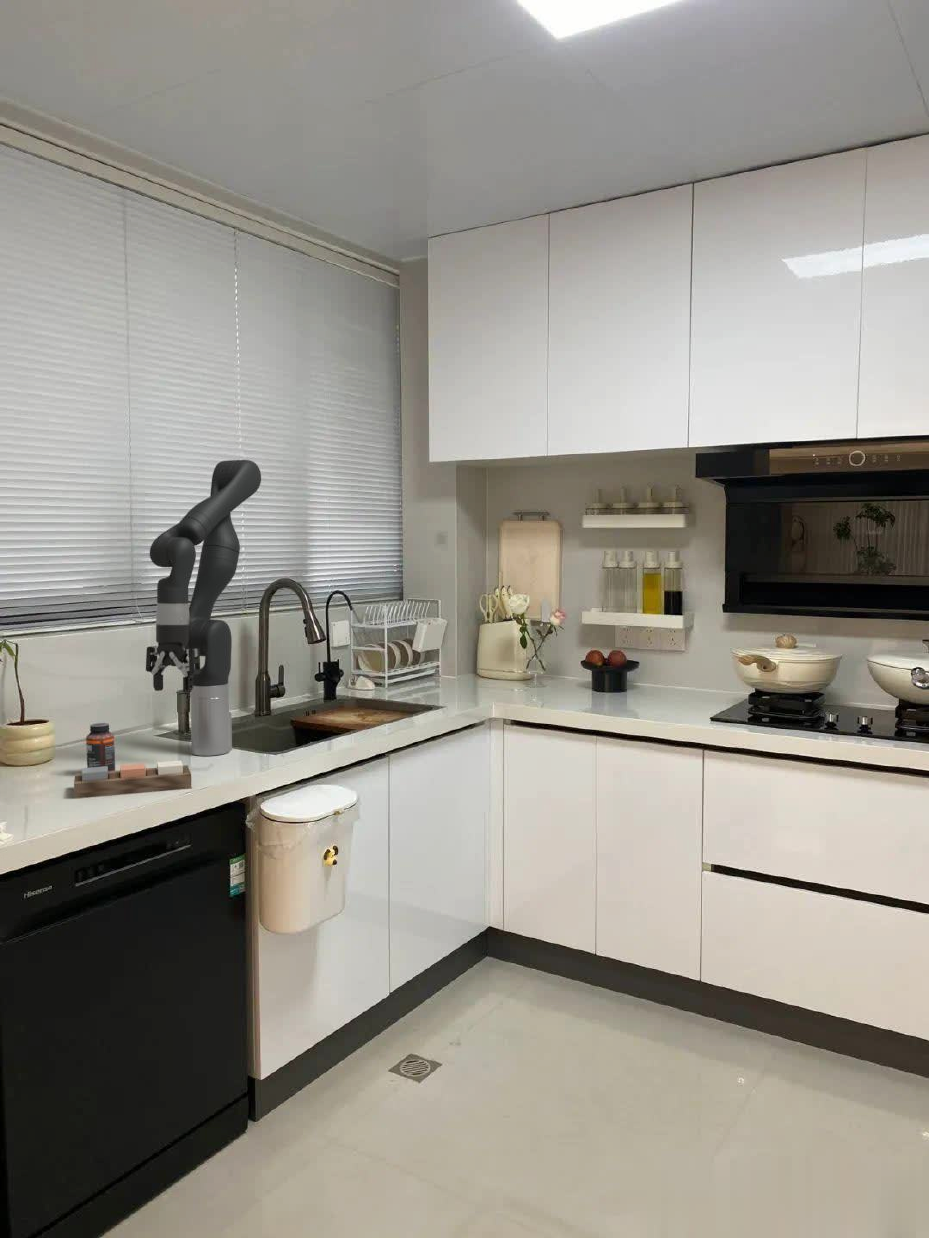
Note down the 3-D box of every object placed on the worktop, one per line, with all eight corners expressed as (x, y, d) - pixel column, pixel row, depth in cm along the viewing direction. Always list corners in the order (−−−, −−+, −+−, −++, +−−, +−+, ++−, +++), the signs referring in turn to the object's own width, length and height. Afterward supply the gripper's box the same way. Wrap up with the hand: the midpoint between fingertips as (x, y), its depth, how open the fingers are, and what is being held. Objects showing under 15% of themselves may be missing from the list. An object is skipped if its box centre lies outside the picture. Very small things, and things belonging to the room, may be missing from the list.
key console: (187, 778, 209) (187, 765, 209) (191, 788, 201) (191, 774, 201) (75, 787, 201) (75, 774, 201) (74, 798, 193) (73, 783, 193)
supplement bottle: (119, 770, 217) (117, 721, 216) (110, 776, 211) (108, 726, 210) (92, 770, 217) (91, 722, 216) (83, 777, 211) (81, 726, 210)
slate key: (107, 776, 202) (107, 766, 201) (108, 781, 197) (107, 771, 197) (82, 778, 200) (82, 768, 200) (82, 783, 195) (81, 773, 195)
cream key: (181, 770, 207) (181, 760, 207) (183, 775, 202) (182, 765, 202) (157, 772, 205) (157, 762, 205) (158, 777, 200) (158, 767, 200)
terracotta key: (145, 773, 204) (144, 763, 204) (146, 778, 200) (145, 768, 199) (120, 775, 202) (120, 765, 202) (120, 780, 198) (120, 770, 198)
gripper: (207, 623, 223) (207, 691, 223) (160, 621, 229) (160, 688, 229) (186, 624, 216) (186, 695, 217) (137, 622, 222) (138, 691, 222)
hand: (172, 691), depth 223 cm, fingers open, 8 cm apart
